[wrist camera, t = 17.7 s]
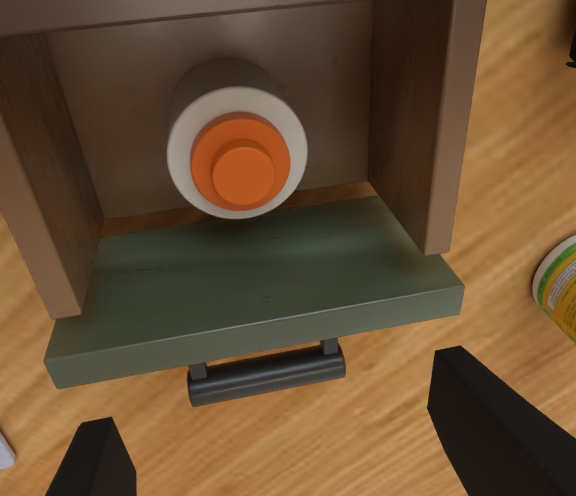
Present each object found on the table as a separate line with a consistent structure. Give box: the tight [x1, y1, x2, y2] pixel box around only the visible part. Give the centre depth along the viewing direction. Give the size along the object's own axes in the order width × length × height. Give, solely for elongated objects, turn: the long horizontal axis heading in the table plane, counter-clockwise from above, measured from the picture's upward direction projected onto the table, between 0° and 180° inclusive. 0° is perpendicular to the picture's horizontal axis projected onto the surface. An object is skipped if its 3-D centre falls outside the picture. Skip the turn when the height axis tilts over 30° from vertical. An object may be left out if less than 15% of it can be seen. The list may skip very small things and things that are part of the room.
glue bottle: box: [166, 58, 308, 219], centre depth 14 cm, size 4×4×4 cm
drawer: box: [0, 0, 487, 407], centre depth 14 cm, size 18×12×6 cm
